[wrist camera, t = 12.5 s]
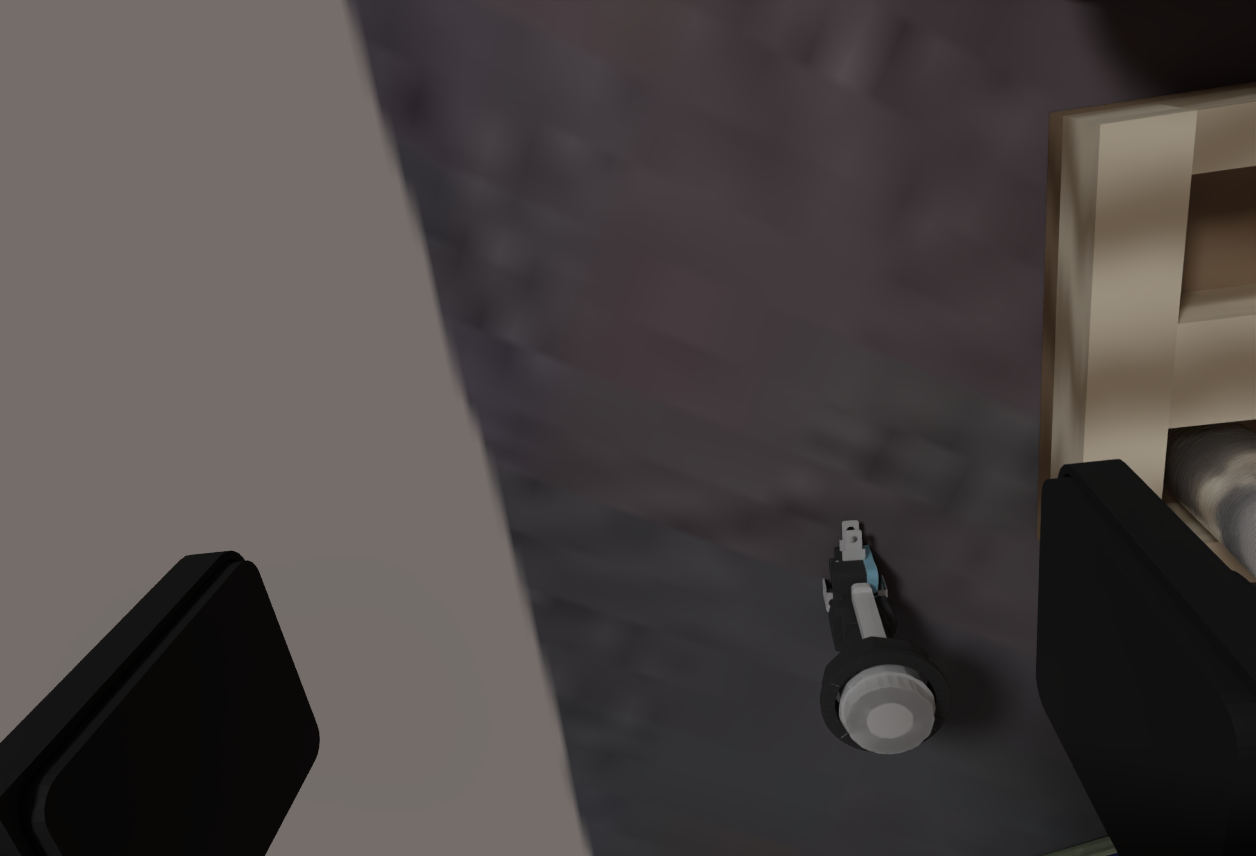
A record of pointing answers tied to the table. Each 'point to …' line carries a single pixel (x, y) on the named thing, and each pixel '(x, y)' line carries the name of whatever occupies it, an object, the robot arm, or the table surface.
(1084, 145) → the socket block
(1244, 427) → the pin
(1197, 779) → the robot arm
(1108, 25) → the table surface
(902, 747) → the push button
